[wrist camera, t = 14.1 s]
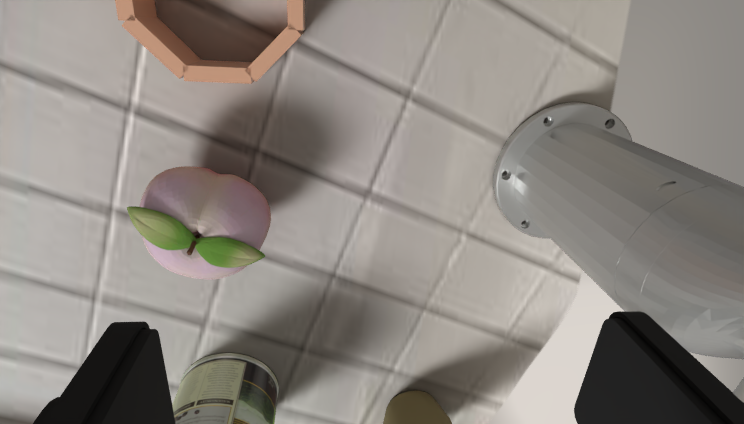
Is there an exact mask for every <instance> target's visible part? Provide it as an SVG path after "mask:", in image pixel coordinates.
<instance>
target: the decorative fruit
mask: <svg viewBox="0 0 744 424" xmlns="http://www.w3.org/2000/svg"><path fill="white" fill-rule="evenodd" d="M127 210H128V213H129V216H130V219H131V221H132V223H133V224H134V226H135V227H136V229H137V230H138V231H139V232H140V234H141V235H142V238H143V241H144V243H145V246H146V248H147V250H148V251H149V253H150V254H151V256H152V257H153V258H154V259H155V260H156V261H157V262H158V263H159V264H161V265H162V266H163V267H165V268H166V269H168V270H170V271H172V272H174V273H176V274H179V275H183V276H187V277H191V278H198V279H220V278H224V277H227V276H230V275H233V274H235V273H237V272H239V271H241V270H242V269H244V268H245V267H246V266H247V265H249V264H252V263H254V262H256V261H258V260H260V259H262V258H264V257H265V255H264V254H263V253H262V252H261V251H259V250H260V248H261V246H262V244H263V242H264V240H265V238H266V236H267V233H268V230H269V227H270V221H271V213H270V208H269V205H268V202H267V200H266V199H265V197H264V195H263V194H262V193H261V192H260V191H259V190H258V189H257V188H256V187H255V186H254V185H252V184H251V183H249V182H248V181H246V180H244V179H242V178H240V177H238V176H236V175H232V174H218V173H216V172H214V171H212V170H210V169H208V168H202V167H176V168H172V169H169V170H165V171H164V172H162V173H160V174H158V175H157V176H156V177H155V178H154V179H153V180H152V181H151V182H150V183H149V185H148V186H147V188H146V190H145V192H144V194H143V197H142V199H141V203H140V207H127Z"/></svg>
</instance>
